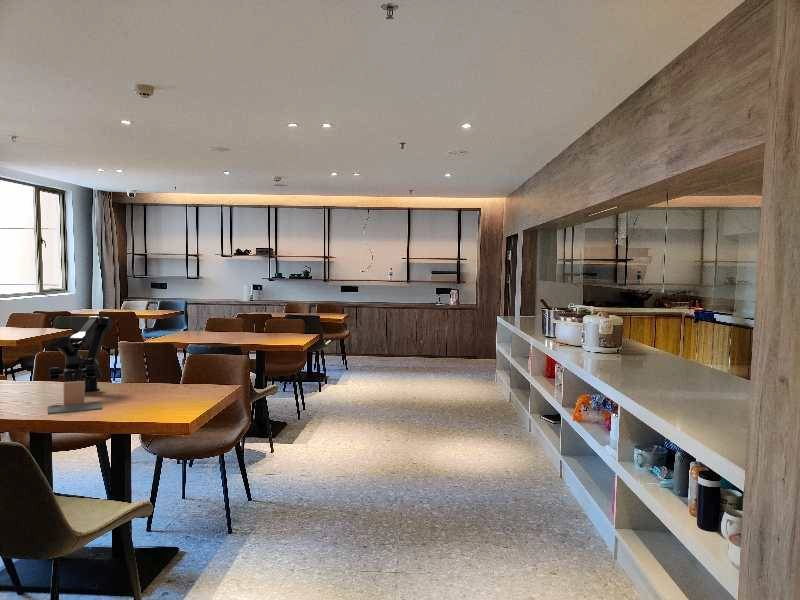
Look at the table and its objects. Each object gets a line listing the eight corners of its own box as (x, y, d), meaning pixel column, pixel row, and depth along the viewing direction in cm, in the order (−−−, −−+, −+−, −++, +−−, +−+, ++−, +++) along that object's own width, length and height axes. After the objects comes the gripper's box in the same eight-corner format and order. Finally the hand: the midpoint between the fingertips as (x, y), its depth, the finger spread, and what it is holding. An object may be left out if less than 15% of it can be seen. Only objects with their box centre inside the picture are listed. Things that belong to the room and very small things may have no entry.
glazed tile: (63, 404, 255) (63, 382, 255) (84, 402, 259) (84, 380, 259) (63, 405, 253) (63, 383, 252) (84, 403, 257) (84, 381, 256)
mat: (47, 407, 248) (47, 406, 248) (99, 403, 259) (99, 401, 259) (47, 414, 237) (47, 412, 237) (102, 409, 248) (102, 407, 248)
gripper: (48, 350, 259) (49, 378, 250) (95, 348, 269) (97, 375, 260) (48, 365, 266) (49, 393, 257) (94, 362, 276) (96, 389, 267)
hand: (73, 387), depth 260 cm, fingers closed
